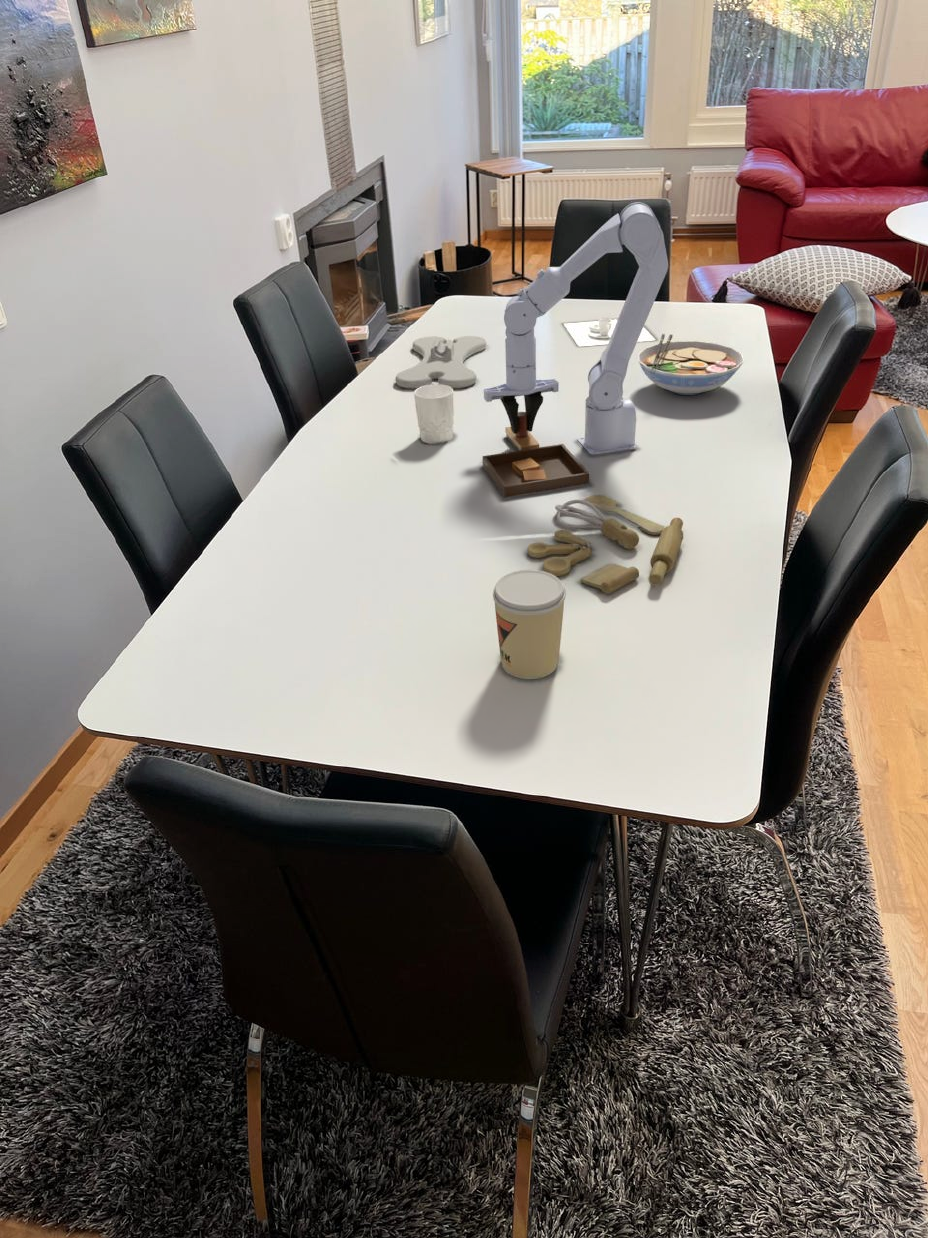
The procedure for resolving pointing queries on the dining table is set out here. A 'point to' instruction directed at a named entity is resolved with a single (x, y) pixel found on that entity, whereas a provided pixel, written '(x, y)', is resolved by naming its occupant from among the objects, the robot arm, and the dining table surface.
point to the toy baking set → (613, 574)
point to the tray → (551, 459)
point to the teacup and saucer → (598, 332)
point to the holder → (442, 362)
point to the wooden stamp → (521, 434)
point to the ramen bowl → (689, 365)
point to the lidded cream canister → (529, 622)
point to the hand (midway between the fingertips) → (521, 430)
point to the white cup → (435, 412)
